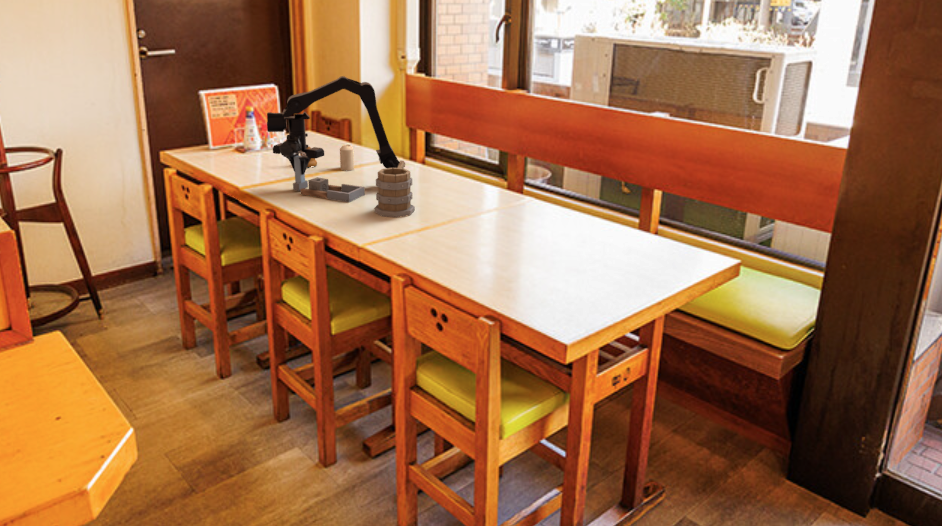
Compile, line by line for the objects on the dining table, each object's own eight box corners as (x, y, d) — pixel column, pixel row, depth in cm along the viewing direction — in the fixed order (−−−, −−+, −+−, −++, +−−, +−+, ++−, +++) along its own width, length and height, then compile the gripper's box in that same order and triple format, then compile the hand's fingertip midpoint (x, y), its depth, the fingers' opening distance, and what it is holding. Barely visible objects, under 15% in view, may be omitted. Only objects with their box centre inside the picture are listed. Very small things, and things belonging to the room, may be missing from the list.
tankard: (407, 218, 247) (407, 174, 242) (370, 215, 250) (369, 171, 244) (423, 202, 266) (423, 160, 260) (388, 199, 268) (388, 158, 263)
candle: (347, 171, 303) (346, 147, 300) (337, 169, 306) (336, 145, 303) (356, 169, 307) (356, 145, 304) (347, 166, 311) (346, 143, 307)
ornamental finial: (301, 168, 306) (297, 164, 312) (319, 167, 309) (314, 163, 315) (300, 149, 303) (295, 145, 309) (318, 148, 306) (313, 144, 312)
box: (364, 194, 272) (364, 186, 271) (349, 202, 263) (349, 193, 262) (343, 191, 275) (342, 183, 274) (327, 198, 266) (327, 190, 265)
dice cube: (309, 193, 272) (308, 180, 271) (317, 190, 276) (317, 177, 275) (320, 195, 270) (319, 182, 268) (328, 192, 274) (328, 179, 273)
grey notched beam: (307, 187, 278) (306, 155, 274) (299, 190, 273) (297, 158, 269) (302, 186, 279) (300, 154, 275) (293, 190, 274) (291, 157, 270)
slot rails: (341, 191, 275) (341, 186, 275) (326, 198, 267) (326, 193, 266) (316, 187, 279) (316, 182, 279) (300, 194, 271) (300, 189, 270)
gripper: (261, 132, 265) (264, 175, 270) (306, 138, 258) (308, 182, 264) (280, 127, 274) (283, 169, 280) (324, 132, 268) (326, 175, 273)
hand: (299, 173), depth 274 cm, fingers closed on grey notched beam, 2 cm apart
